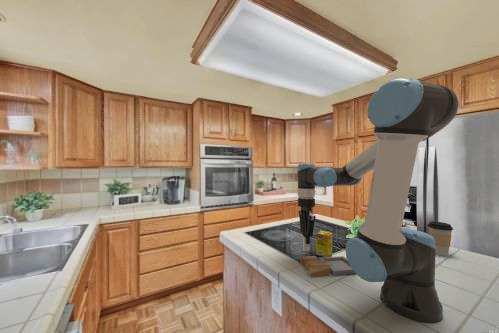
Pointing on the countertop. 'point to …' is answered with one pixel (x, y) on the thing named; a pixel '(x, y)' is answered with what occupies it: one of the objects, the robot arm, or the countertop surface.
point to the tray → (339, 265)
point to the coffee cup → (441, 237)
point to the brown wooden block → (308, 260)
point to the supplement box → (324, 244)
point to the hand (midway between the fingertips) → (306, 250)
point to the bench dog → (319, 268)
